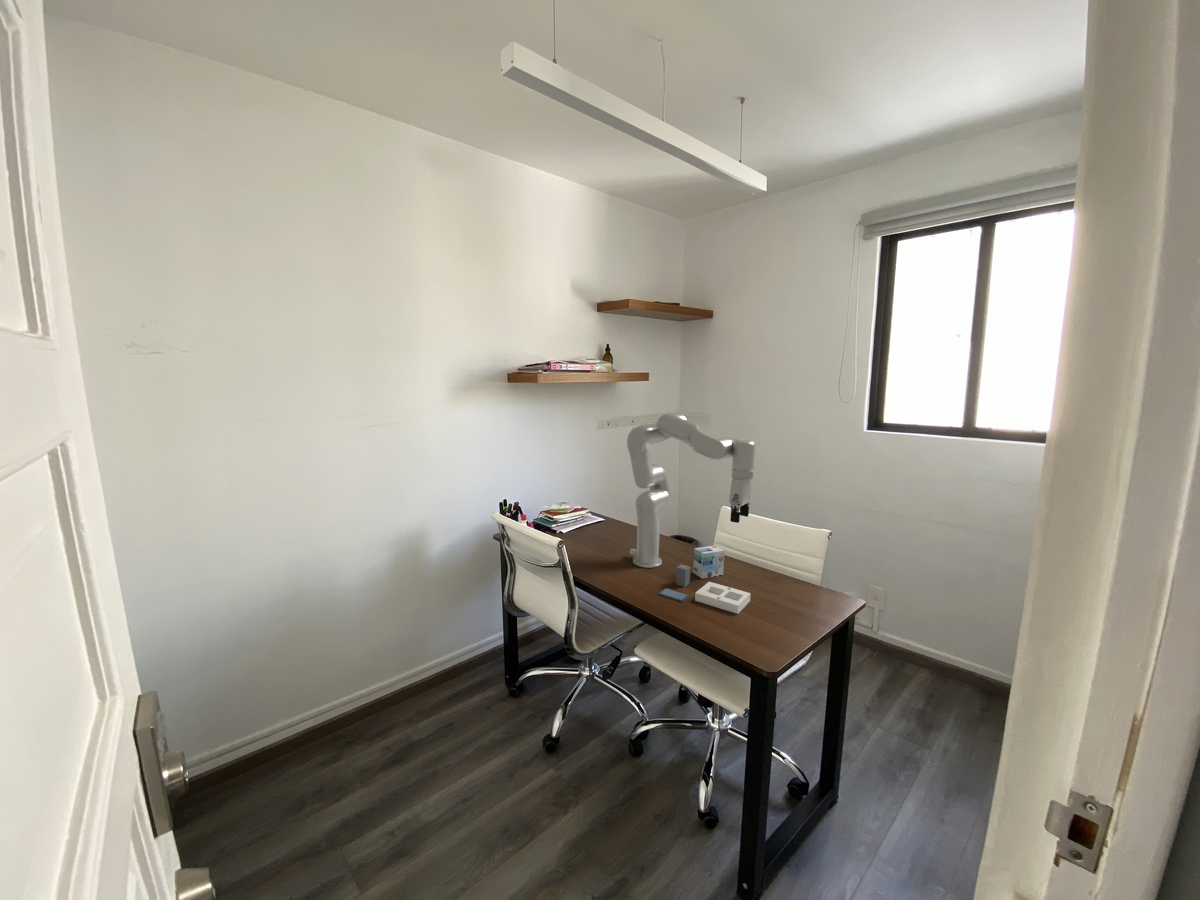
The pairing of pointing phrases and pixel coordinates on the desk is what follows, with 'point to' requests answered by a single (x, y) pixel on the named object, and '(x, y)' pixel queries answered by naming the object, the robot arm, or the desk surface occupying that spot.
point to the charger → (682, 575)
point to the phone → (674, 595)
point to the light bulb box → (708, 561)
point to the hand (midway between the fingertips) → (739, 518)
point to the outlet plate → (723, 597)
